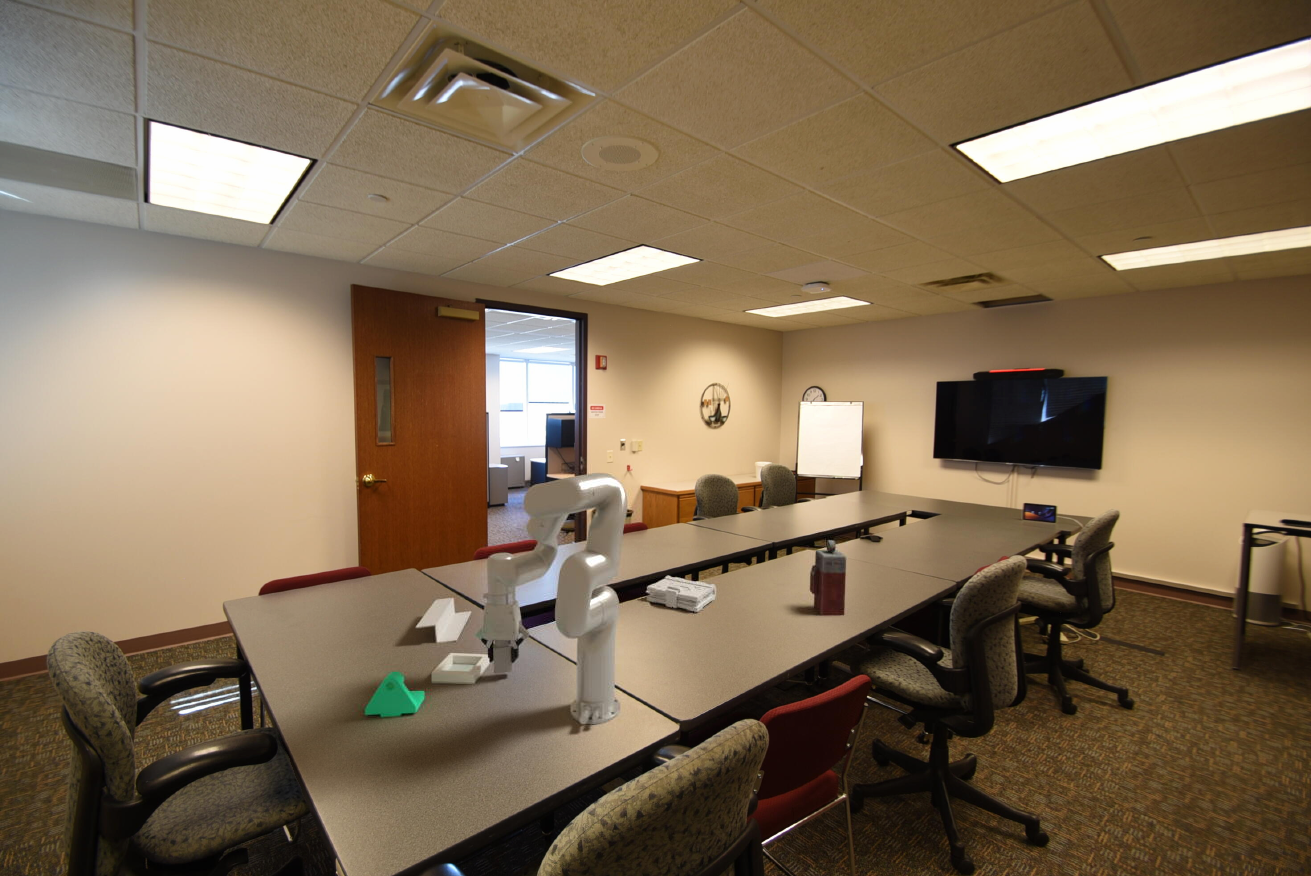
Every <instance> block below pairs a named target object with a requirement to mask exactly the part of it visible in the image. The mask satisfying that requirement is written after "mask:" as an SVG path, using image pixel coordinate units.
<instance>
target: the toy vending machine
mask: <svg viewBox="0 0 1311 876" xmlns="http://www.w3.org/2000/svg"><path fill="white" fill-rule="evenodd" d="M825 547H826V549H817V550H815V556H814V557H815V558H814V559H815V561H814V565H812V566H811V568H810V569H811V570H810V574H809V591H810V592H811V594H812V595H814V596H813V608H814V609H815V611H816V612H817V613H818V614H819V615H820V616H823V617H825V616H827V617H828V616H829V617H830V616H845V606H846V605H845V604H846V602H845V601H846V581H847V579H846V575H847V574H846V572H847V556H846V555H845V554H843V553H842V552H841V551H839V550H838V549H837V547H836V541H835V540H830V539H827V541H826V543H825Z"/></svg>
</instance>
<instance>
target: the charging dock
mask: <svg viewBox="0 0 1311 876" xmlns="http://www.w3.org/2000/svg"><path fill="white" fill-rule="evenodd" d="M490 664H491V662H489V658H488V653H486V654H483V653H463V652H462V653H461V652H458V653H456V652H450V653H449V654H448V655H447V656H446V657H445V658H444V659H443V660H442V661H441V662H440V663H439V664H438V665H437V666H436V667H435V668H434V669H433V671H432V672H431V684H457V685H460V684H461V685H462V684H463V685H475V683H476V682H477V681H478V680H479V678H480V677H481V676H482V675H483V673H484V672H485V671H486V670H487V668H488V667H489V665H490Z"/></svg>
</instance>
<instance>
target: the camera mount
mask: <svg viewBox="0 0 1311 876" xmlns="http://www.w3.org/2000/svg"><path fill="white" fill-rule="evenodd" d="M404 682H405V676H404V674H403V673H402V672H401V671H398V670H395V671H390V672H389V673H388V674H387V675H386V676H385V678H384V679H383V680H382V681H381V683H380V685H379V686H378V688H377V690H376V691H375V693H374V694H373V695H372V697H371V698H370V700H369V702H368V703H367V704H366V707H365V708H364V715H365V716H369V715H380V718H386V717H387V718H389V717H390V718H391V717H401V716H402V715H403V714H413V713H414V714H416V713H417V712H418V710H419V709H420V706H421V705H422V703H423V702H424V700H425V691H424V690H409V689H408V687H407V686H406V684H405V683H404Z"/></svg>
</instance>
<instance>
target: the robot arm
mask: <svg viewBox="0 0 1311 876" xmlns="http://www.w3.org/2000/svg"><path fill="white" fill-rule="evenodd" d="M522 501H523V503H522V504H523V505H522V506H523V509H524V512H525V513H526V514H527V515H528V516H529V517H530V518H529V519H528V522H527V523H526V529H525V530H526V532H527V534H528V536H530V538H531V539H533V541H536V542H537V544H536V546H535V547H534V549H533V551H532V552H529V553H526V554H523V555H520V556H516V557H515V556H514V555H513V554H512V553H509V552H499V553H498V552H497V553H493V554H491V555H489V556H488V558H487V560H486V574H487V577H486V578H487V592H486V593H485V592H484V593H483V595H482V598H483V599H486V601H487V602H486V603H485V604H484V608H483V614H482V615H483V616H482V627H481V628H480V629H479V630H478V632H477V633H476V634H475V637H477V638H478V639H479V640H480V641H481V643H483V645H485V648H486V649H487V655H488V658H489V662H490V663H494V660H493V645H494V644H495V640H510V641H511V643H512V646H513V648H512V649H511V662H512V663H515V662H516V661H517V659H519V654H520V652H519V651H520V650H519V646H520V645H521V644H522V643H523V642H524V641H525V640H526V639H527V638H529V636H530V631H528V630H527V629H526V628H525V626H524V625H523V623H522V615H521V610H520V604H519V601H518V600H517V599H516V597H517V595H516V588H517V587H520V586H523V585H524V584H527V583H529V582H530V583H531V582H533V581H535V580H538V579H541V578H542V577H544V576H545V575H546V574H547V573H548V572H549V570H550V568H551V567H552V565H553V563H554V562H555V560H556V558H557V555H558V551H559V549H558V548H559V543H558V538H557V537H558V535H559V533H560V531H561V529H562V527H564V523H565V522H566V520H567V518H568V517H569V515H570V514H575V513H576V514H577V513H580V512H583V511H588V510H592V509H595V513H594V515H593V517H592V519H591V521H590V524H589V527H588V532H587V538H586V539H587V541H586V545H585V547H584V549H583V550H581V551H578V552H575V553H573V554H571V555H569V556H568V557H567V558H566V559H565V560H564V561H563V563H562V565H561V567H560V570H559V574H558V581H557V590H556V597H555V598H556V599H555V608H554V619H555V624H556V627H557V629H558V631H559V633H560V634H561V635H562V636H563V637H565V638H567V639H572V640H573V639H577V642H576V699H574V700H573V701H572V702H571V703H570V707H569V708H570V709H569V710H570V711H569V713H570V715H571V717H572V718H573V719H574V720H575V721H577V722H578V723H580V724H582V725H586V724H587V725H600V724H601V725H602V724H605V723H607V722H610V721H612V720H614V719H615V718H617V716H619V714H620V713H621V702H620V700H619V699H617V698H616V697H615V678H616V677H615V674H616V673H615V672H616V671H615V669H616V667H615V665H616V664H615V663H616V659H615V658H616V632H617V631H616V630H617V624H618V619H619V613H620V601H619V598H618V594H617V592H616V591H615V590H614V589H613V588H612V587H611V586H607V585H608V584H609V583H610V582H613V580H615V578H616V577H617V575H618V572H619V568H620V560H621V552H622V544H623V534H624V527H625V522H626V518H627V512H628V497H627V492H626V489H625V487H624V486H623V484H622V482H621V481H620V480H619V478H616V477H615V476H613V475H612V474H609V473H605V472H593V473H587V474H583V475H576V476H569V477H564V478H560V479H556V480H552V481H548V482H543V483H537V484H533V485H532V486H530V487H529V488H528V489H527V491H526V493H525V494H524V497H523V500H522ZM520 634H521V636H520V637H519V635H520Z"/></svg>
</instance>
